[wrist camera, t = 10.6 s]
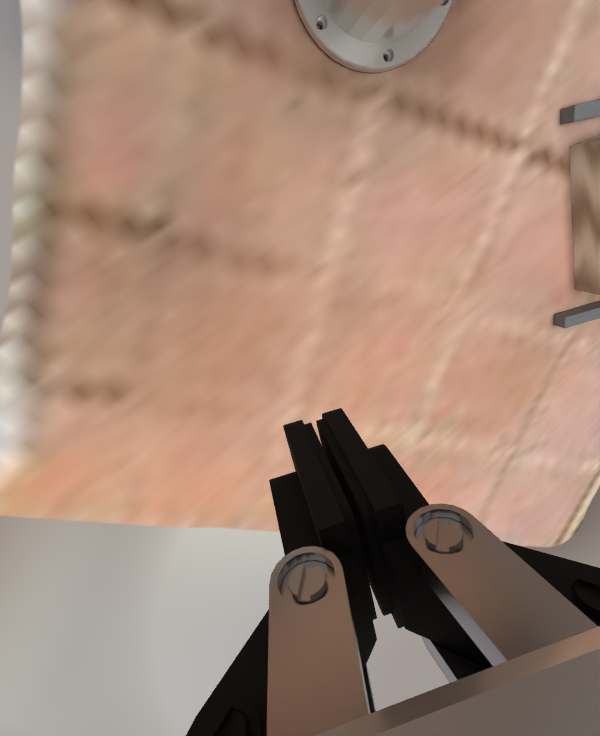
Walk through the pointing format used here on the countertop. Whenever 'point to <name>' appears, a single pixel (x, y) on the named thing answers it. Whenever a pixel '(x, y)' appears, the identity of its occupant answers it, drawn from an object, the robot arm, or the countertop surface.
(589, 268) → the t block
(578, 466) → the countertop surface
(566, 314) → the dock
